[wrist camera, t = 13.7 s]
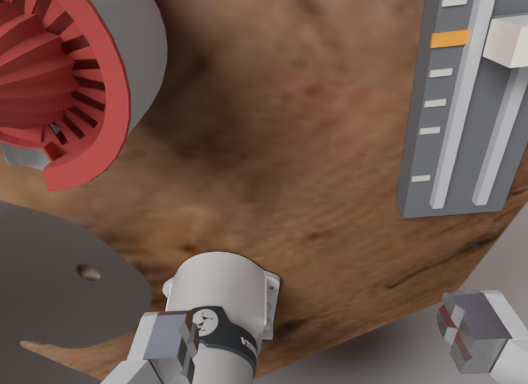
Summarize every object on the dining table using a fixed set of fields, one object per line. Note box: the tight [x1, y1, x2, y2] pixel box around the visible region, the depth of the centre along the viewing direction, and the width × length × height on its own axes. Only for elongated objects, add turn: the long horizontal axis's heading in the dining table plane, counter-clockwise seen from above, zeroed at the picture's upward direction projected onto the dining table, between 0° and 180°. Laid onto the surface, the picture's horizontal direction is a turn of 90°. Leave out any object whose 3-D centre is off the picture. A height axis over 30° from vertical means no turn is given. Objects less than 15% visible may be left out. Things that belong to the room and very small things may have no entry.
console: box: [396, 0, 528, 219], centre depth 34 cm, size 30×12×4 cm, turn 6°
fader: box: [482, 12, 528, 68], centre depth 28 cm, size 3×4×5 cm
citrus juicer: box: [0, 0, 168, 192], centre depth 25 cm, size 16×17×20 cm
